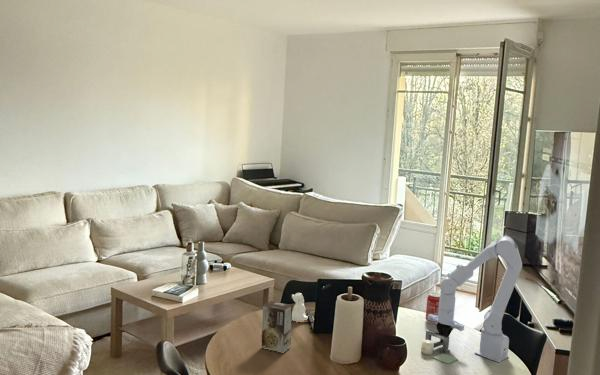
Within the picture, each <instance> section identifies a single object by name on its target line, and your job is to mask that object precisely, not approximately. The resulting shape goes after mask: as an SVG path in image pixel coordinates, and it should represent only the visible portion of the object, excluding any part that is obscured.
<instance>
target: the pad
mask: <svg viewBox="0 0 600 375" xmlns="http://www.w3.org/2000/svg"><path fill="white" fill-rule="evenodd" d="M433 359H435V360H436V361H440V362H441V363H444V364H446V365H450V364H451V363H454V362H455V361H456V362H457V361H458V358H456V357H455V356H452V355H449V354H447V353H446V354H443V353H442V354H438V355H435V356H433Z"/></svg>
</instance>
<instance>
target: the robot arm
mask: <svg viewBox="0 0 600 375" xmlns="http://www.w3.org/2000/svg"><path fill="white" fill-rule="evenodd" d="M499 257H500V258H502V259H503V261H504V263H505V264H506V266H507V267H506V269H505V271H504V275H503V277H502V279H501V282H500V284H499V287H498V288H497V291H496V295H495V296H494V299H493V303H492V304H491V306H490V308H489V310H488V311H487V312H485V314H484V316H483V323H482V327H481V330H480V331H481V332H480V333H481V334H480V340H479V341H480V343H479V349H478V350H476V351H474V354H476V355H477V356H481V357H483V358H486V359H489V360H492V361H495V362H497V363H500V362H502V361H503V360H505V359H507V358H509V348H510V347H509V345H510V338H509V337H508V336H507V335H506V334H504V333H503V330H502V327H503V325H502V322H503V317H504V316H505V314H504V313H505V311H506V309H507V306H508V304H509V300H510V299H511V296H512V294H513V291H514V288H515V285H516V283H517V280H518V278H519V276H520V273H521V271H522V269H523V261H522V259H521V255H520V251H519V247H518V245H517V243H516V241H514V239H513V238H512V237H511V236H508V235H502V236H500V237H499V238H498V239H497V240H494V241H493V242H492V243H490V244H489V245H487V246H486V247H485V248H484V249H482V250H481V251H480V252H479V253H478V254H477V255H476V256H475V257H474V258H473V259H471V260H470V261H469V262H468V263H461V264H460V263H457V265H456V268H455V269H454V270H453V271H451V272H450V273H447V274H446V276H444V277H443V278H442V280H441V282H440V286H439V288H440V292H439V294H440V300H439V312H438V316H437V315H433V314H429V315H428V319H427V320H432V321H435V322H438V324H435V328H436V330H437V333H440V334H442V335H445V336H448V337H449V338H450V335H451V333H452V332H453V330H454V329H455V330H458V331H459V332H462V331H464V330H465V324H463V323H460V322H458V321H456V320H455V308H456V292H457V288H458V287H462V285H463V284H465V283H466V282H467V281H469V279H470V278H472V277H474V271H475V270H476V269H478V268H479V267H480V266H482V265H483V264H484V263H485V262H488V261H489V260H490V259H498V258H499ZM427 320H426V321H427ZM439 341H443V340H442V339H439Z"/></svg>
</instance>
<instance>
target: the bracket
mask: <svg viewBox="0 0 600 375" xmlns="http://www.w3.org/2000/svg"><path fill="white" fill-rule="evenodd" d="M432 337H434V338H436V339H439V340H440V339H442V340H443V345H442V349H441V351H440V352H439V353H440V354H442V353H443V354H446V355H447V354H448V353H450V352H451V349H449V347H450V346H449V345H450V336H449V337H448V336H445V335H442V334H440V333H438V331H437V332H436V331H434V330H431V329H427V330H425V337H424V338H425V339H424V340H430V341H432ZM440 354H439V355H440Z"/></svg>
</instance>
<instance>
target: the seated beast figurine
mask: <svg viewBox="0 0 600 375" xmlns="http://www.w3.org/2000/svg"><path fill="white" fill-rule="evenodd" d="M291 299H292V300H293V301H294V303H295V304H294V305H293V306H292V320H293V321H304V320H307V319H308V316H309V315H306V310H307V309H306V306H305V299H304V296H303V294H302V293H301V292H296V293H295V294H291ZM293 321H292V322H293Z"/></svg>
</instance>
